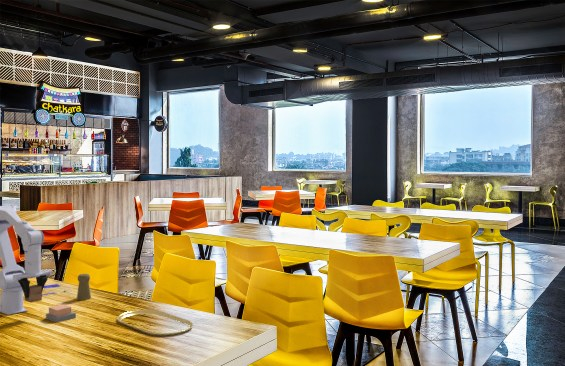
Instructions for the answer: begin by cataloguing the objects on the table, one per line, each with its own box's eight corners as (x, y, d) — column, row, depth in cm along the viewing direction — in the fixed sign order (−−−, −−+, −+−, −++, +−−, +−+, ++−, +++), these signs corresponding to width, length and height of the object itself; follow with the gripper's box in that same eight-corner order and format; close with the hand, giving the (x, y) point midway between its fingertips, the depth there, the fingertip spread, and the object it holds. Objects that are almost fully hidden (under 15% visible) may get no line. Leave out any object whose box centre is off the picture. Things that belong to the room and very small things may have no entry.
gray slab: (45, 319, 210) (45, 313, 210) (65, 315, 216) (65, 309, 216) (56, 323, 205) (56, 317, 205) (75, 319, 211) (75, 313, 211)
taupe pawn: (86, 300, 237) (86, 275, 237) (73, 299, 238) (73, 275, 238) (93, 297, 243) (93, 273, 243) (81, 296, 244) (81, 272, 244)
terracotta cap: (48, 313, 210) (48, 307, 210) (63, 310, 215) (63, 304, 214) (56, 316, 206) (56, 310, 206) (71, 313, 211) (71, 307, 211)
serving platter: (149, 311, 223) (149, 307, 223) (203, 329, 200) (203, 325, 200) (108, 320, 209) (108, 316, 209) (160, 341, 186) (160, 336, 186)
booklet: (47, 299, 240) (47, 297, 240) (30, 289, 259) (30, 287, 259) (75, 295, 248) (75, 293, 248) (57, 285, 267) (57, 284, 267)
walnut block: (24, 300, 210) (24, 286, 209) (36, 298, 213) (36, 284, 213) (30, 302, 207) (30, 288, 206) (41, 300, 210) (41, 286, 210)
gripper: (18, 265, 201) (18, 301, 202) (55, 260, 212) (56, 294, 213) (10, 263, 206) (10, 298, 206) (47, 258, 217) (47, 291, 217)
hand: (33, 296), depth 210 cm, fingers closed on walnut block, 4 cm apart
